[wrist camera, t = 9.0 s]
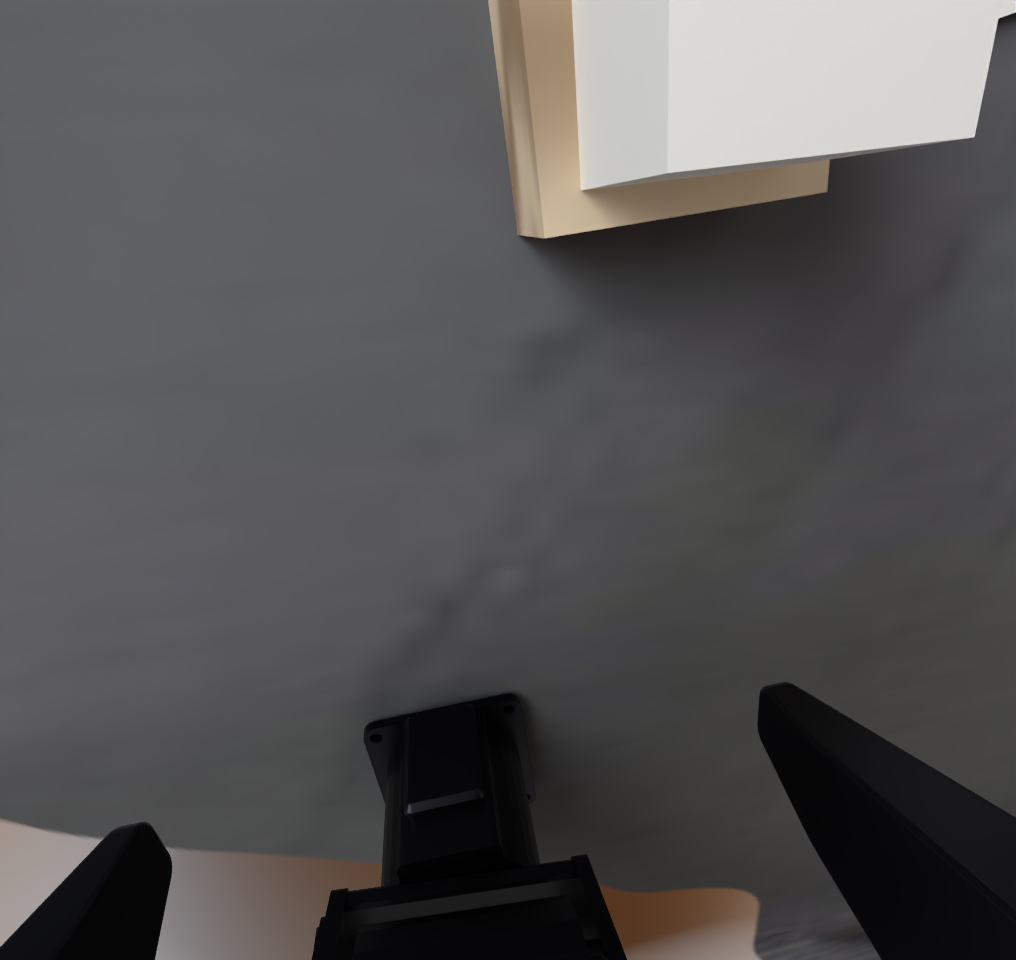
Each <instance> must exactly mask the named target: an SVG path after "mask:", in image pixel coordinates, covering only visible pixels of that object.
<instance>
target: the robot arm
mask: <svg viewBox="0 0 1016 960" xmlns="http://www.w3.org/2000/svg"><path fill="white" fill-rule="evenodd" d="M507 705H512V706H510V707H505V706H507ZM757 724H758V732H759V736H760V739H761V741H762V743H763V746H764V748H765V750H766V752H767V754H768V756H769V758H770V760H771V762H772V764H773V766H774V768H775V770H776V772H777V774H778V776H779V778H780V781H781V783H782V785H783V787H784V789H785V791H786V793H787V795H788V797H789V799H790V801H791V803H792V805H793V807H794V809H795V811H796V813H797V816H798V818H799V820H800V822H801V824H802V826H803V828H804V830H805V832H806V834H807V836H808V838H809V840H810V842H811V843H812V845H813V847H814V849H815V850H816V852H817V854H818V856H819V857H820V859H821V861H822V863H823V864H824V866H825V868H826V869H827V871H828V872H829V874H830V876H831V877H832V879H833V881H834V882H835V884H836V886H837V887H838V889H839V891H840V892H841V894H842V896H843V897H844V899H845V900H846V902H847V904H848V905H849V907H850V909H851V910H852V912H853V914H854V915H855V917H856V919H857V920H858V922H859V924H860V925H861V927H862V928H863V930H864V932H865V933H866V935H867V937H868V938H869V940H870V942H871V943H872V945H873V947H874V948H875V950H876V951H877V953H878V955H879V956H880V958H881V960H1016V818H1015V817H1014V816H1012V815H1010V814H1009V813H1007V812H1005V811H1004V810H1002V809H1000V808H999V807H997V806H995V805H994V804H992V803H990V802H989V801H987V800H985V799H984V798H982V797H980V796H979V795H977V794H975V793H974V792H972V791H970V790H969V789H967V788H965V787H964V786H962V785H960V784H959V783H957V782H955V781H954V780H952V779H950V778H949V777H947V776H945V775H944V774H942V773H940V772H939V771H937V770H935V769H934V768H932V767H930V766H929V765H927V764H925V763H924V762H922V761H920V760H919V759H917V758H915V757H914V756H912V755H910V754H909V753H907V752H905V751H904V750H902V749H900V748H899V747H897V746H895V745H894V744H892V743H890V742H889V741H887V740H885V739H884V738H882V737H880V736H879V735H877V734H875V733H874V732H872V731H870V730H869V729H867V728H865V727H864V726H862V725H860V724H859V723H857V722H855V721H854V720H852V719H850V718H849V717H847V716H845V715H844V714H842V713H840V712H839V711H837V710H835V709H834V708H832V707H830V706H829V705H827V704H825V703H824V702H822V701H820V700H818V699H817V698H815V697H813V696H812V695H810V694H808V693H807V692H805V691H803V690H802V689H800V688H798V687H797V686H795V685H793V684H791V683H788V682H782V683H777V684H773V685H768V686H765V687H763V688H762V689H761V691H760V695H759V709H758V723H757ZM374 734H379V735H374ZM364 743H365V746H366V749H367V752H368V755H369V757H370V760H371V763H372V766H373V769H374V772H375V775H376V778H377V781H378V784H379V787H380V790H381V793H382V795H383V798H384V801H385V822H384V840H383V858H382V876H381V887H375V888H368V889H361V890H354V891H349V890H348V888H346V889H338V890H332V891H331V893H330V897H329V902H328V907H327V911H326V916H325V917H321V920H320V925H319V927H318V928H317V930H316V937H315V944H314V951H313V956H312V960H627V958H626V956H625V953H624V950H623V948H622V945H621V942H620V940H619V937H618V935H617V932H616V930H615V927H614V924H613V922H612V919H611V916H610V914H609V911H608V908H607V906H606V903H605V901H604V898H603V895H602V893H601V890H600V887H599V885H598V882H597V880H596V877H595V874H594V872H593V869H592V866H591V864H590V861H589V859H588V856H587V855H579V856H572V857H571V860H565V861H558V862H551V863H544V864H540V860H539V854H538V849H537V844H536V839H535V833H534V828H533V823H532V818H531V812H530V807H529V804H530V803H532V802H533V801H534V800H535V798H536V793H535V788H534V782H533V776H532V770H531V764H530V758H529V752H528V746H527V741H526V735H525V729H524V723H523V717H522V711H521V706H520V701H519V698H518V697H517V696H516V695H515V694H511V693H509V694H502V695H497V696H493V697H488V698H483V699H478V700H474V701H469V702H464V703H460V704H455V705H450V706H445V707H441V708H436V709H431V710H426V711H422V712H417V713H412V714H407V715H403V716H398V717H393V718H389V719H384V720H379V721H374V722H371V723H369V724H368V725H367V726H366V727H365V729H364ZM171 874H172V861H171V857H170V855H169V853H168V851H167V850H166V848H165V846H164V845H163V843H162V841H161V840H160V838H159V837H158V835H157V833H156V832H155V830H154V829H153V827H152V826H151V825H150V824H149V823H146V822H140V823H135V824H130V825H126V826H121V827H118V828H116V829H114V830H113V831H111V832H110V833H109V834H108V835H107V836H106V837H105V838H104V839H103V840H102V841H101V842H100V843H99V844H98V845H97V846H96V847H95V849H94V850H93V851H92V852H91V853H90V854H89V855H88V856H87V857H86V858H85V859H84V860H83V861H82V862H81V863H80V864H79V865H78V866H77V867H76V868H75V869H74V870H73V872H72V873H71V874H70V875H69V876H68V877H67V878H66V879H65V880H64V881H63V882H62V883H61V884H60V885H59V886H58V887H57V888H56V889H55V891H54V892H52V893H51V895H50V896H49V897H48V898H47V899H46V900H45V901H44V902H43V903H42V904H41V905H40V906H39V907H38V908H37V909H36V910H35V911H34V912H33V913H32V914H31V915H30V917H29V918H28V919H27V920H26V921H25V922H24V923H23V924H22V925H21V926H20V927H19V928H18V929H17V930H16V931H15V932H14V933H13V934H12V935H11V936H10V937H9V939H8V940H7V941H6V942H5V943H4V944H3V945H2V946H1V947H0V960H155V956H156V951H157V945H158V940H159V936H160V930H161V925H162V920H163V916H164V910H165V906H166V900H167V895H168V891H169V886H170V881H171Z"/></svg>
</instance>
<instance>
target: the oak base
mask: <svg viewBox="0 0 1016 960" xmlns="http://www.w3.org/2000/svg"><path fill="white" fill-rule="evenodd" d="M488 2H489V10H490V18H491V26H492V34H493V42H494V50H495V58H496V66H497V74H498V82H499V89H500V97H501V105H502V113H503V121H504V129H505V137H506V145H507V153H508V161H509V169H510V177H511V185H512V193H513V201H514V209H515V217H516V224H517V232H518V235H522V236H529V237H537V238H551V237H557V236H563V235H569V234H575V233H581V232H587V231H593V230H599V229H605V228H611V227H618V226H624V225H630V224H636V223H642V222H648V221H654V220H660V219H666V218H672V217H678V216H684V215H691V214H697V213H703V212H709V211H715V210H721V209H727V208H733V207H739V206H745V205H751V204H758V203H764V202H770V201H776V200H782V199H788V198H794V197H800V196H806V195H812V194H818V193H824V192H827V187H828V175H829V163H830V160H824V161H817V162H811V163H804V164H798V165H791V166H784V167H776V168H767V169H759V170H750V171H742V172H733V173H725V174H716V175H708V176H699V177H691V178H682V179H674V180H666V181H657V182H649V183H640V184H632V185H623V186H615V187H606V188H598V189H589V190H581V182H580V162H579V141H578V121H577V101H576V80H575V60H574V39H573V19H572V0H488Z"/></svg>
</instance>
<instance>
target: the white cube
mask: <svg viewBox="0 0 1016 960" xmlns="http://www.w3.org/2000/svg"><path fill="white" fill-rule="evenodd" d="M1001 3H1002V0H572V19H573V39H574V60H575V80H576V101H577V121H578V141H579V162H580V182H581V190H589V189H598V188H606V187H615V186H623V185H632V184H640V183H649V182H657V181H666V180H674V179H682V178H691V177H699V176H708V175H716V174H725V173H733V172H742V171H750V170H759V169H767V168H776V167H784V166H791V165H798V164H804V163H811V162H817V161H824V160H830V159H837V158H843V157H850V156H856V155H863V154H869V153H876V152H882V151H889V150H895V149H902V148H908V147H915V146H921V145H928V144H934V143H941V142H947V141H954V140H960V139H967V138H973V137H975V132H976V127H977V122H978V117H979V112H980V107H981V102H982V97H983V92H984V87H985V82H986V77H987V73H988V68H989V63H990V58H991V53H992V48H993V43H994V38H995V33H996V28H997V23H998V18H999V13H1000V8H1001Z"/></svg>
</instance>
